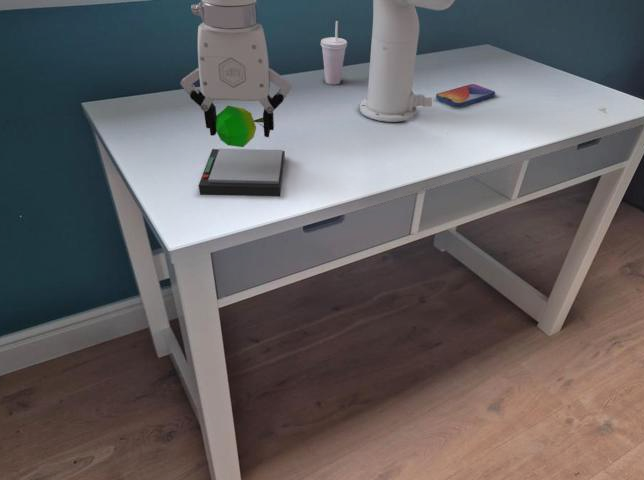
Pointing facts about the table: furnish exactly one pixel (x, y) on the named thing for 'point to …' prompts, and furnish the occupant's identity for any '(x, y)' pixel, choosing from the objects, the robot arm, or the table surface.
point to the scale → (243, 172)
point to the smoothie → (333, 57)
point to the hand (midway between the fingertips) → (240, 132)
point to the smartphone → (465, 95)
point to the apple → (236, 126)
